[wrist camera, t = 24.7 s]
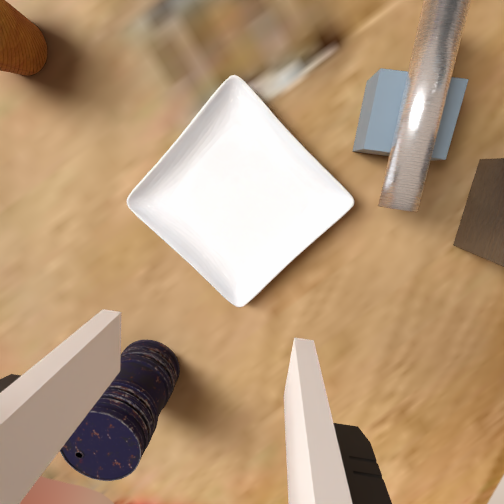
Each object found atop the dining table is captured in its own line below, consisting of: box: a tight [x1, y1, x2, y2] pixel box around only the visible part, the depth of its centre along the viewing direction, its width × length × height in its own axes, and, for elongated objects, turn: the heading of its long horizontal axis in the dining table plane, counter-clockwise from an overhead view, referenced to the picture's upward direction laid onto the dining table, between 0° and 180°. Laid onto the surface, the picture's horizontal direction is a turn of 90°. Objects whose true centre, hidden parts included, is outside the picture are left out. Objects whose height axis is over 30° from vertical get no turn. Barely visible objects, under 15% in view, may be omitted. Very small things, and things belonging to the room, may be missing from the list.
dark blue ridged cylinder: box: [60, 340, 180, 481], centre depth 43 cm, size 10×10×15 cm
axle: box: [378, 0, 471, 212], centre depth 32 cm, size 20×4×4 cm, turn 173°
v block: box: [353, 69, 468, 160], centre depth 36 cm, size 8×9×5 cm
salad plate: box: [127, 75, 354, 307], centre depth 41 cm, size 21×21×3 cm
